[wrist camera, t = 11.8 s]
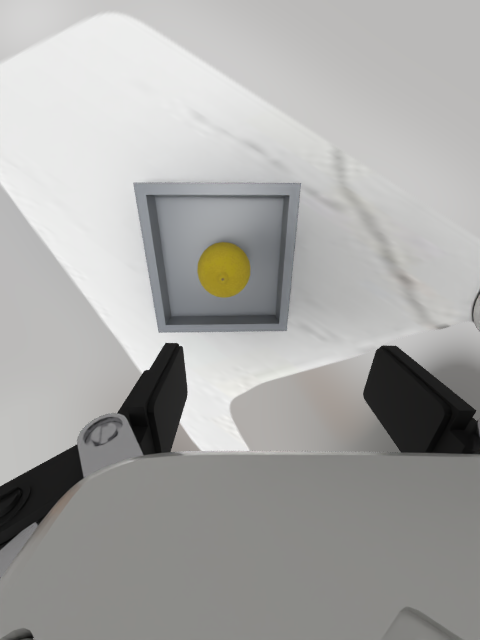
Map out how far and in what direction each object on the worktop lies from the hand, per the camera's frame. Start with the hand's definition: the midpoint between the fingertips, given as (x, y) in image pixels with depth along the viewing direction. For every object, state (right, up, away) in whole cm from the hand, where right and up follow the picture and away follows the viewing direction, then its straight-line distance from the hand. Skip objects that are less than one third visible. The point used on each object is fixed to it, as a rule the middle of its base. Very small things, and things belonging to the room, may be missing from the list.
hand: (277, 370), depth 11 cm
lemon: (-4, +9, +16) cm, 19 cm away
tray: (-4, +10, +17) cm, 20 cm away
